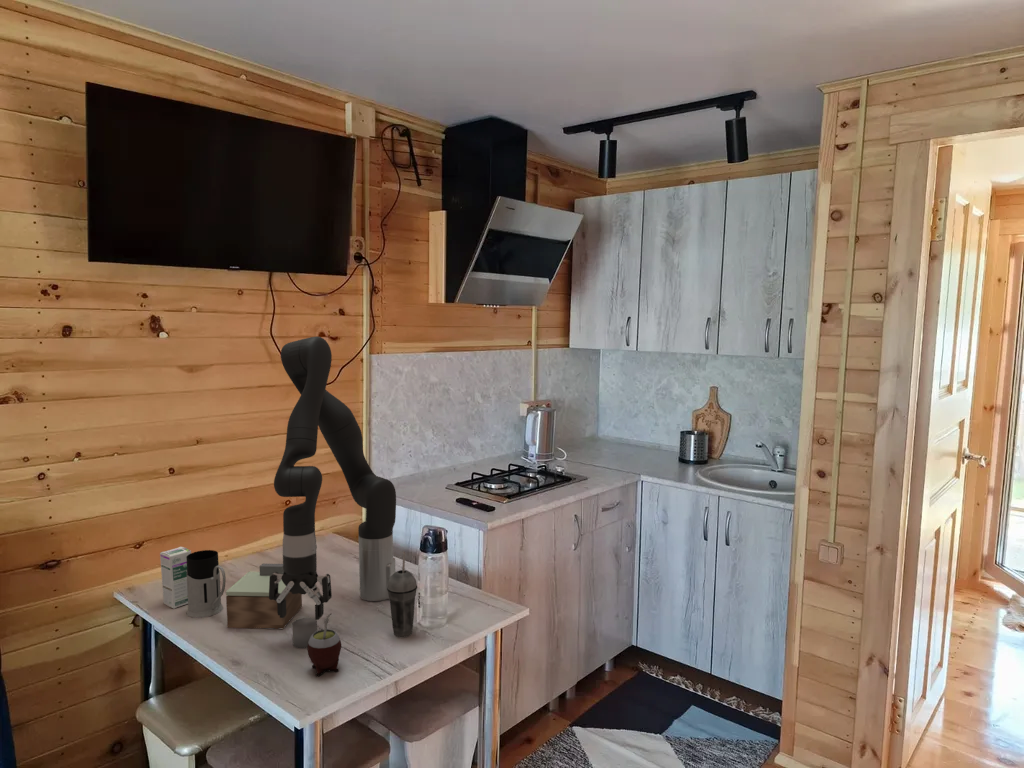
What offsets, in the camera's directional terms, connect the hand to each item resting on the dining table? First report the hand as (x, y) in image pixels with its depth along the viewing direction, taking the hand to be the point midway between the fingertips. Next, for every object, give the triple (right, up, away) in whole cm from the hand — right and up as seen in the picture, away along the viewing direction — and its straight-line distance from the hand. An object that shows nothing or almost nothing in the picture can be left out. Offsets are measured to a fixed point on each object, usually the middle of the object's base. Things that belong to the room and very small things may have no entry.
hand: (300, 617), depth 160 cm
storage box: (-13, -5, +14) cm, 20 cm away
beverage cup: (+23, -6, +5) cm, 24 cm away
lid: (-13, +4, +13) cm, 19 cm away
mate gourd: (+9, -8, -12) cm, 17 cm away
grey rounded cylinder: (+1, -6, +1) cm, 6 cm away
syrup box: (-40, -4, +23) cm, 46 cm away
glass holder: (-28, -5, +17) cm, 33 cm away
